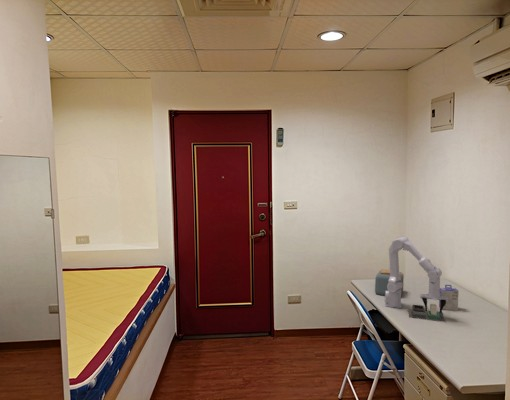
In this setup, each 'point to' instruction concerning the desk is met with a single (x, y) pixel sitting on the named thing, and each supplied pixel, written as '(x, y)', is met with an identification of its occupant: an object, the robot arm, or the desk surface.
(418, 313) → the jack panel
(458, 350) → the desk surface
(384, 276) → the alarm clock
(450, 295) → the ink cartridge box
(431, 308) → the plug
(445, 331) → the desk surface
